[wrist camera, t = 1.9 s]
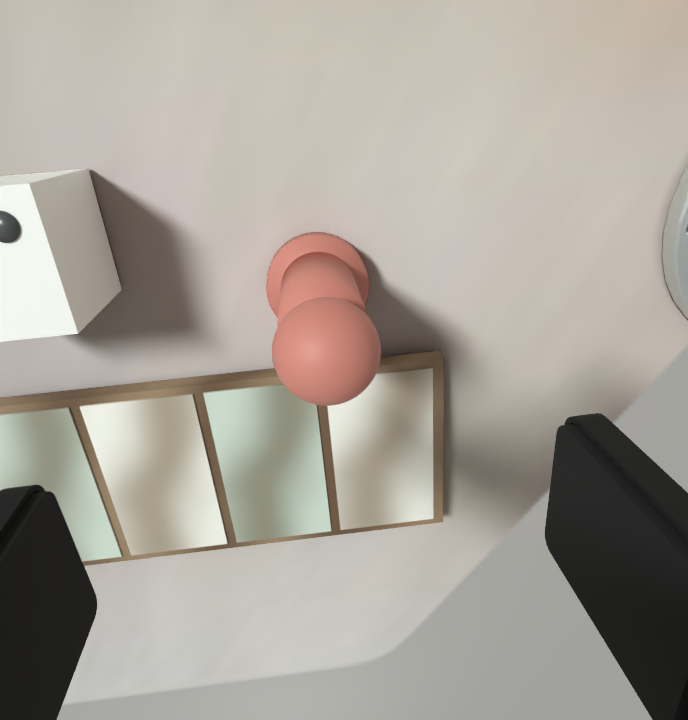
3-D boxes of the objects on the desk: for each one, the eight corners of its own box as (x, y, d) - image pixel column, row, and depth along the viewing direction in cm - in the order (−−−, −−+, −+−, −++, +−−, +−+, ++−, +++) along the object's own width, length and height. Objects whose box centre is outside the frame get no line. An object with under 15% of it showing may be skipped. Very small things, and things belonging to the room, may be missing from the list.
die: (88, 168, 20) (28, 183, 16) (121, 289, 22) (77, 334, 18) (-42, 179, 20) (-142, 199, 16) (4, 301, 22) (-71, 349, 18)
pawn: (363, 227, 22) (404, 294, 14) (369, 323, 24) (408, 431, 16) (260, 237, 22) (239, 311, 14) (274, 332, 24) (263, 448, 16)
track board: (439, 350, 25) (444, 359, 24) (438, 510, 29) (443, 523, 28) (-50, 403, 24) (-64, 414, 23) (24, 560, 28) (15, 575, 27)
